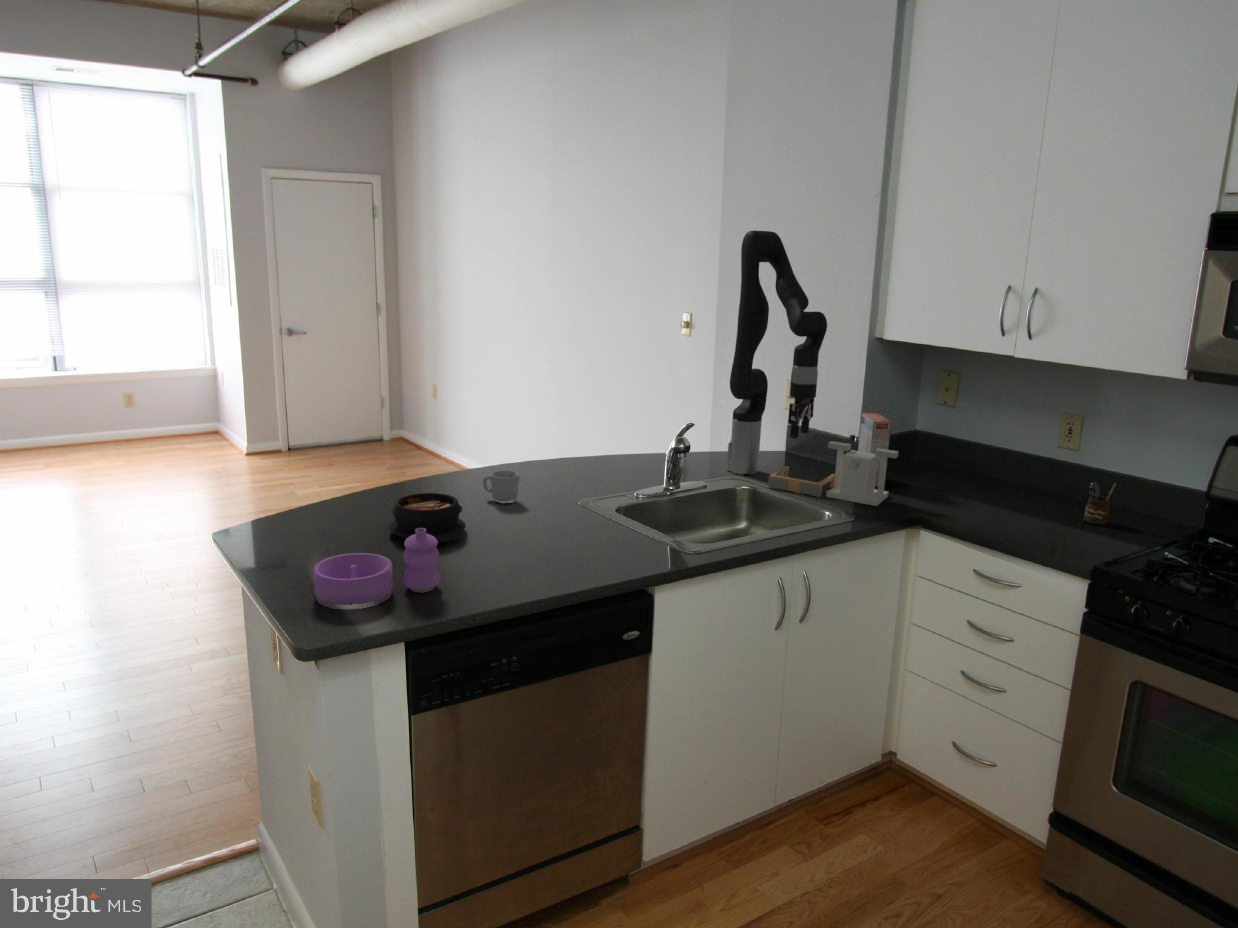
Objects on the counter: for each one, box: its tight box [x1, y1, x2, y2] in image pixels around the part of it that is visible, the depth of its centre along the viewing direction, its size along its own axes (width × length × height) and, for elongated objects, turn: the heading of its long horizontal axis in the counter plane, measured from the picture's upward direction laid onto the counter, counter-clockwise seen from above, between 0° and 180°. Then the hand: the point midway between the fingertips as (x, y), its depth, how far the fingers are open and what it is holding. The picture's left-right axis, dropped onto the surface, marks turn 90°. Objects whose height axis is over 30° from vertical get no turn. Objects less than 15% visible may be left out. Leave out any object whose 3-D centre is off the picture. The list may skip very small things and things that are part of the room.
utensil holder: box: [1083, 482, 1117, 524], centre depth 246 cm, size 6×6×12 cm
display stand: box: [825, 441, 900, 507], centre depth 261 cm, size 20×15×15 cm
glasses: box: [767, 465, 835, 498], centre depth 272 cm, size 16×14×4 cm
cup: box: [482, 470, 521, 501], centre depth 248 cm, size 11×8×8 cm
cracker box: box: [857, 412, 892, 488], centre depth 279 cm, size 14×6×21 cm, turn 179°
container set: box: [313, 528, 441, 605], centre depth 183 cm, size 25×15×13 cm, turn 109°
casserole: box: [388, 492, 467, 544], centre depth 220 cm, size 25×19×8 cm
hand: (799, 435), depth 263 cm, fingers open, 8 cm apart
